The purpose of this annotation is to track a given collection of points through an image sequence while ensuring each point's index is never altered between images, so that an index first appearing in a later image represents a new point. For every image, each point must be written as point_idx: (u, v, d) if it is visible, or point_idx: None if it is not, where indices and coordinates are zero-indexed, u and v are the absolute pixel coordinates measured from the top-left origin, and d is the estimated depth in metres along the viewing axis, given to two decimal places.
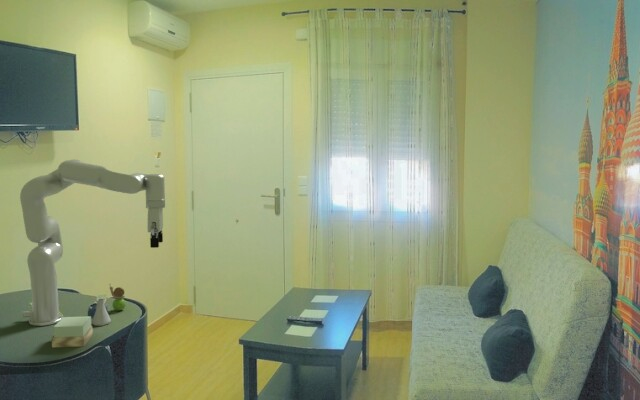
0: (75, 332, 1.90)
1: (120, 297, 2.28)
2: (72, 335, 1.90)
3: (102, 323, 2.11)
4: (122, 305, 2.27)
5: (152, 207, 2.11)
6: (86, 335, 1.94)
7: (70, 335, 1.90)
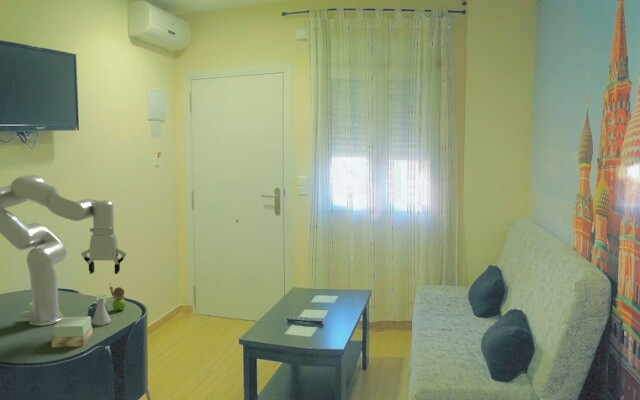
0: (75, 332, 1.90)
1: (120, 297, 2.28)
2: (72, 335, 1.90)
3: (102, 323, 2.11)
4: (122, 305, 2.27)
5: (112, 234, 2.09)
6: (86, 335, 1.94)
7: (70, 335, 1.90)
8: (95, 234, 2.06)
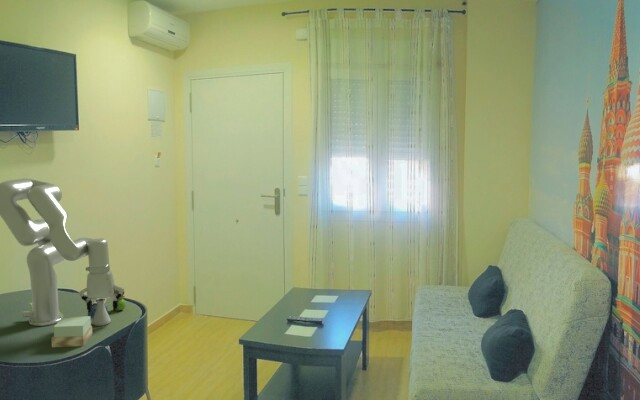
0: (75, 331, 1.90)
1: (120, 297, 2.28)
2: (72, 335, 1.90)
3: (102, 323, 2.11)
4: (122, 305, 2.27)
5: (108, 271, 2.11)
6: (86, 335, 1.94)
7: (70, 335, 1.90)
8: (91, 273, 2.07)
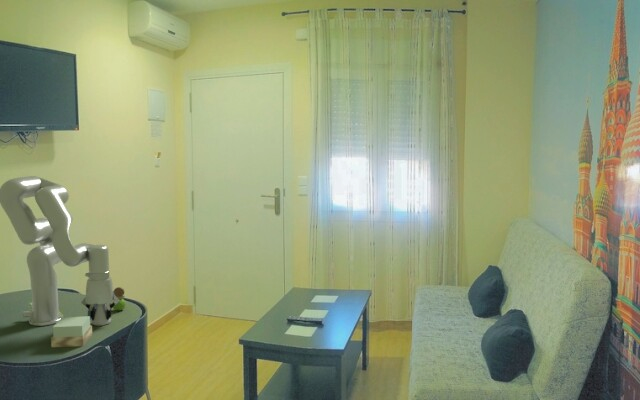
0: (75, 332, 1.90)
1: (120, 297, 2.28)
2: (71, 335, 1.90)
3: (102, 323, 2.11)
4: (122, 305, 2.27)
5: (108, 277, 2.11)
6: (85, 335, 1.94)
7: (69, 335, 1.90)
8: (91, 279, 2.08)
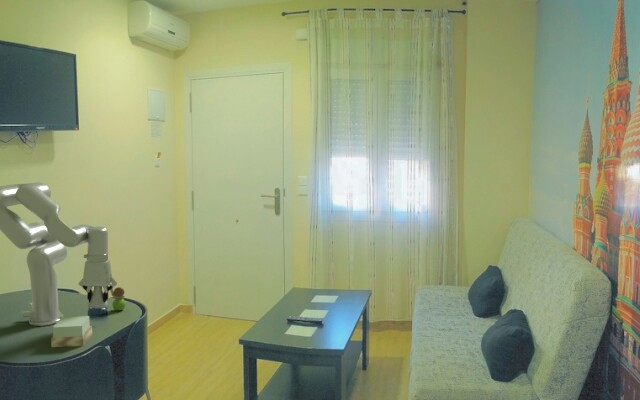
0: (75, 332, 1.90)
1: (120, 297, 2.28)
2: (71, 335, 1.90)
3: (99, 305, 2.10)
4: (122, 305, 2.27)
5: (106, 260, 2.10)
6: (85, 335, 1.94)
7: (69, 335, 1.90)
8: (89, 260, 2.07)
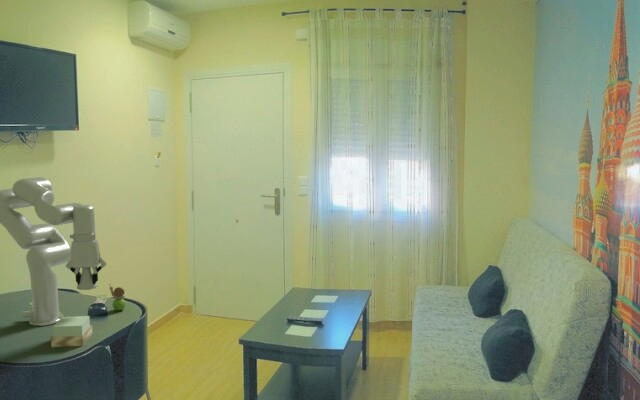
0: (74, 331, 1.91)
1: (120, 297, 2.28)
2: (71, 335, 1.91)
3: (88, 287, 2.00)
4: (122, 305, 2.27)
5: (94, 239, 2.01)
6: (85, 335, 1.94)
7: (69, 335, 1.90)
8: (76, 240, 1.97)
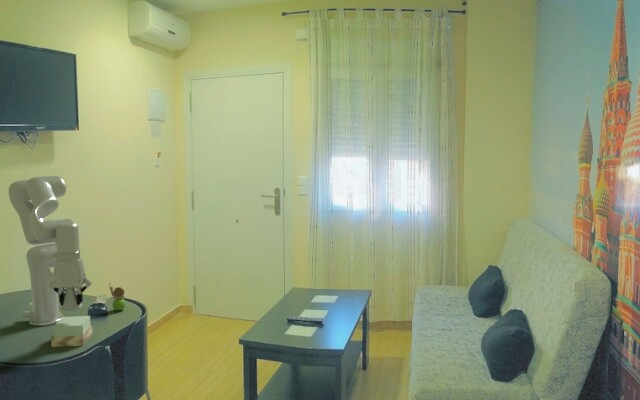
0: (75, 331, 1.91)
1: (120, 297, 2.28)
2: (72, 335, 1.91)
3: (72, 308, 1.91)
4: (122, 305, 2.27)
5: (78, 258, 1.91)
6: (86, 335, 1.94)
7: (70, 335, 1.91)
8: (59, 259, 1.88)
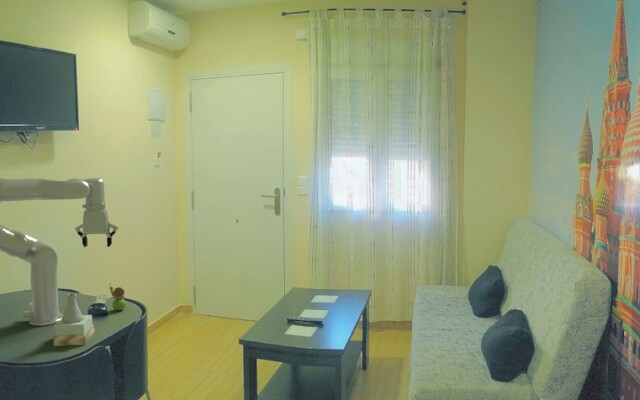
0: (76, 330, 1.92)
1: (120, 297, 2.28)
2: (73, 333, 1.92)
3: (72, 320, 1.93)
4: (122, 305, 2.27)
5: (104, 209, 2.24)
6: (88, 334, 1.95)
7: (71, 333, 1.92)
8: (88, 209, 2.20)
